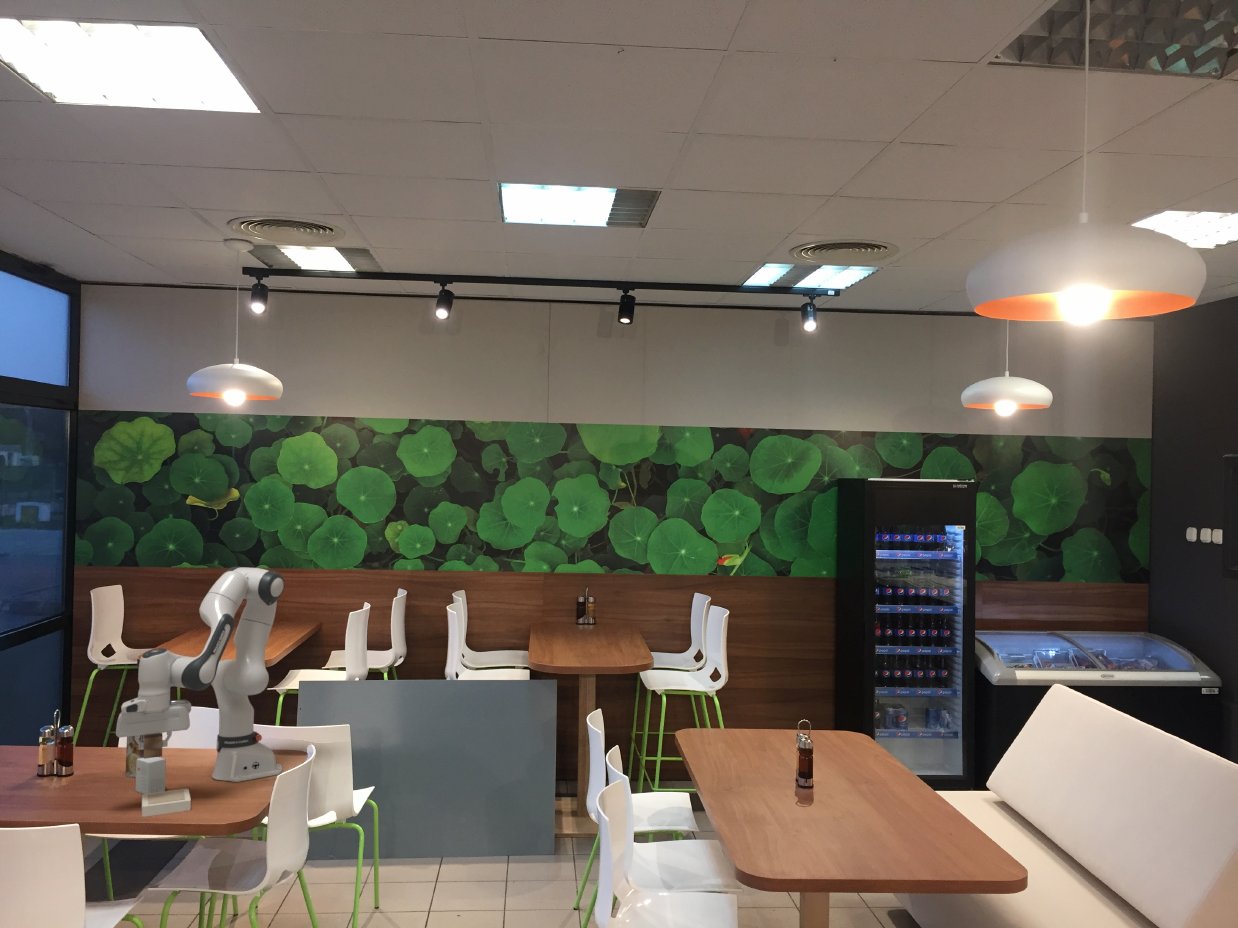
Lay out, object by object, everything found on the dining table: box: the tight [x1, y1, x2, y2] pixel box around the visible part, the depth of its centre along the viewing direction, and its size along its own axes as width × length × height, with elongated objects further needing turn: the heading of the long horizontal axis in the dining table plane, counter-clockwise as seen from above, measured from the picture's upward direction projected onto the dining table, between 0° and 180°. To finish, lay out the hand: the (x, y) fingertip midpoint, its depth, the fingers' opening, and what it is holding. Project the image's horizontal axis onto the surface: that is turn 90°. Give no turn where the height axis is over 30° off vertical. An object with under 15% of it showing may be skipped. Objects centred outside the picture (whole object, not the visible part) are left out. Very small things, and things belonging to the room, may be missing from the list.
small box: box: [135, 757, 167, 795], centre depth 283 cm, size 8×6×10 cm
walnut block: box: [144, 733, 164, 759], centre depth 268 cm, size 5×5×6 cm
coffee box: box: [125, 733, 156, 778], centre depth 301 cm, size 9×6×16 cm
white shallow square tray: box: [141, 788, 192, 818], centre depth 269 cm, size 13×13×3 cm
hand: (153, 747), depth 268 cm, fingers closed on walnut block, 5 cm apart
